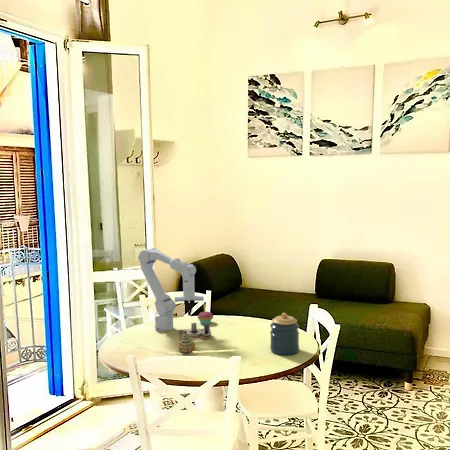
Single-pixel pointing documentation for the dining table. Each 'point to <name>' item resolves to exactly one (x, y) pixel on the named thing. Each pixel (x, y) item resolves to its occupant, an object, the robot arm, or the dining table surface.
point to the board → (195, 337)
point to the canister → (284, 335)
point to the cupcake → (205, 317)
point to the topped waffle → (186, 344)
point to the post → (193, 327)
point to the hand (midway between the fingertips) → (189, 315)
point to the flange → (199, 332)
